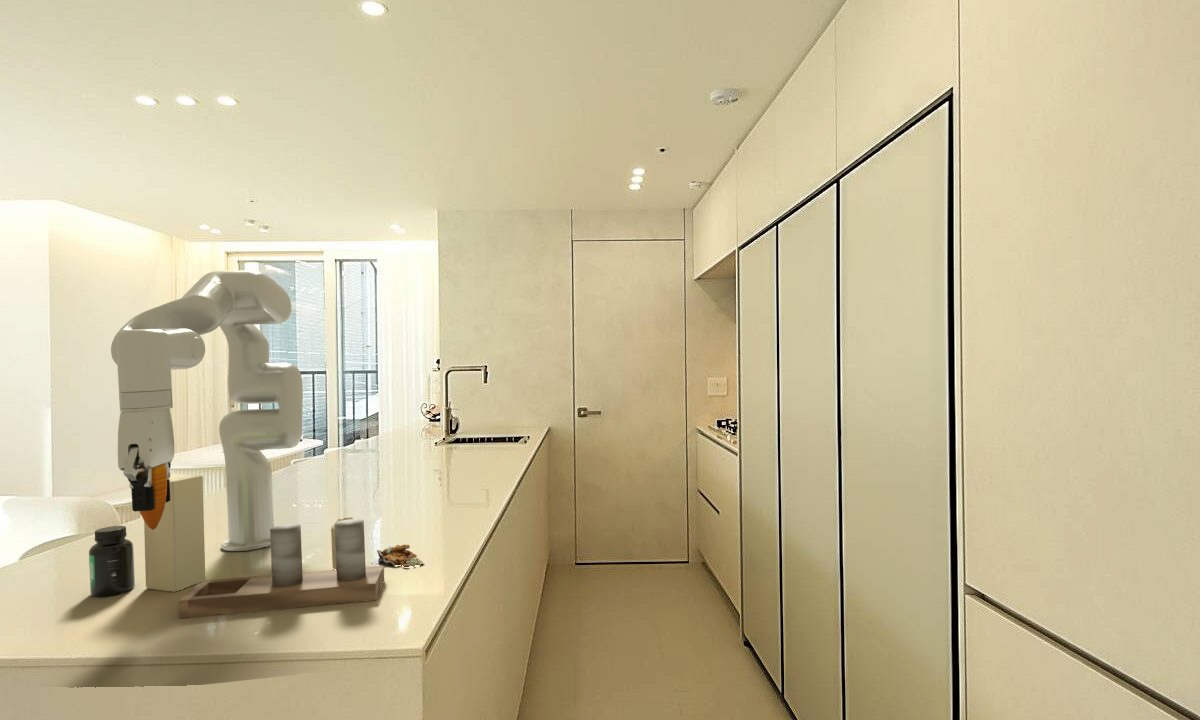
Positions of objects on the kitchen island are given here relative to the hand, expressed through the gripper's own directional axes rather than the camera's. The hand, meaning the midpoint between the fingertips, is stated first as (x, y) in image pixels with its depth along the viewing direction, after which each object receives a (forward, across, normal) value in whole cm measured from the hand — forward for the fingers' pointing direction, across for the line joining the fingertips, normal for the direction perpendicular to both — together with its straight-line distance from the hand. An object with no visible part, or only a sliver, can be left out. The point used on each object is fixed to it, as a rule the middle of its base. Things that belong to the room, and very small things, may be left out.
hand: (152, 505), depth 114 cm
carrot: (+4, 0, 0) cm, 4 cm away
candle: (+19, -17, +28) cm, 38 cm away
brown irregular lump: (+20, -18, +39) cm, 47 cm away
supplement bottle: (+19, -14, -14) cm, 28 cm away
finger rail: (+19, -1, +21) cm, 28 cm away
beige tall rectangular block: (+19, -15, -3) cm, 25 cm away
